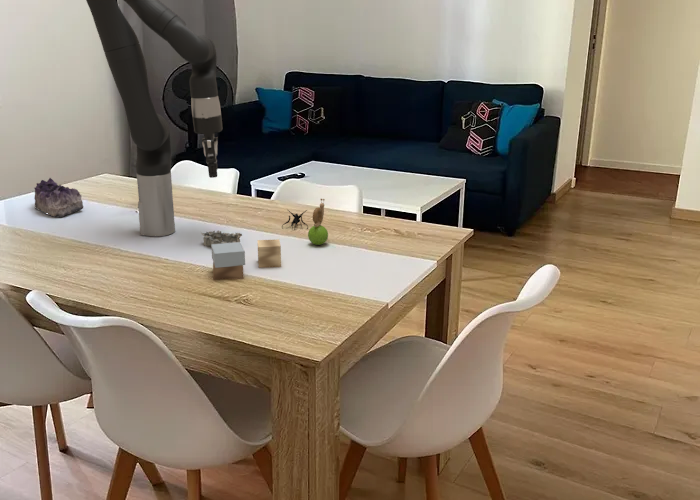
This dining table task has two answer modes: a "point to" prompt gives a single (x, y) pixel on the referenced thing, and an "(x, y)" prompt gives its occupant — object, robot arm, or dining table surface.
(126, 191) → the dining table surface
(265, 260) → the oak cube
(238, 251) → the tower top
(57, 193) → the geode
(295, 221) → the creature
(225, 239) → the grey stone ruin model
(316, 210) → the snail figurine
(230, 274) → the tower base
